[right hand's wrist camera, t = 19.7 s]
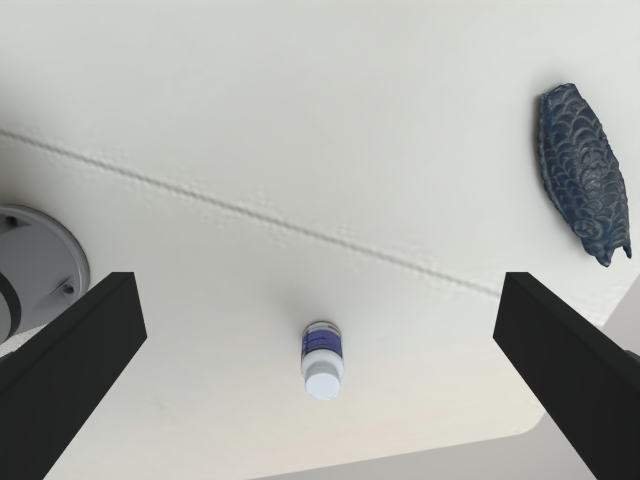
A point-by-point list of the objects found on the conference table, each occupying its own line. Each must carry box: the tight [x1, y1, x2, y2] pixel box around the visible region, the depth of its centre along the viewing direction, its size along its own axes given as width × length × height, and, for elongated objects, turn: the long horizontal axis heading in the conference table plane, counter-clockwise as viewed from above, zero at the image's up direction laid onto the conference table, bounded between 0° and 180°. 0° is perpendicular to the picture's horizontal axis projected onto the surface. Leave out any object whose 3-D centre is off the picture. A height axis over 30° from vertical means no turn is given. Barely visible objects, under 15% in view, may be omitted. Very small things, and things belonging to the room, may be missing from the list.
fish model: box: [537, 83, 632, 267], centre depth 38 cm, size 7×21×5 cm, turn 29°
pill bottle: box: [301, 322, 344, 400], centre depth 44 cm, size 5×5×9 cm
